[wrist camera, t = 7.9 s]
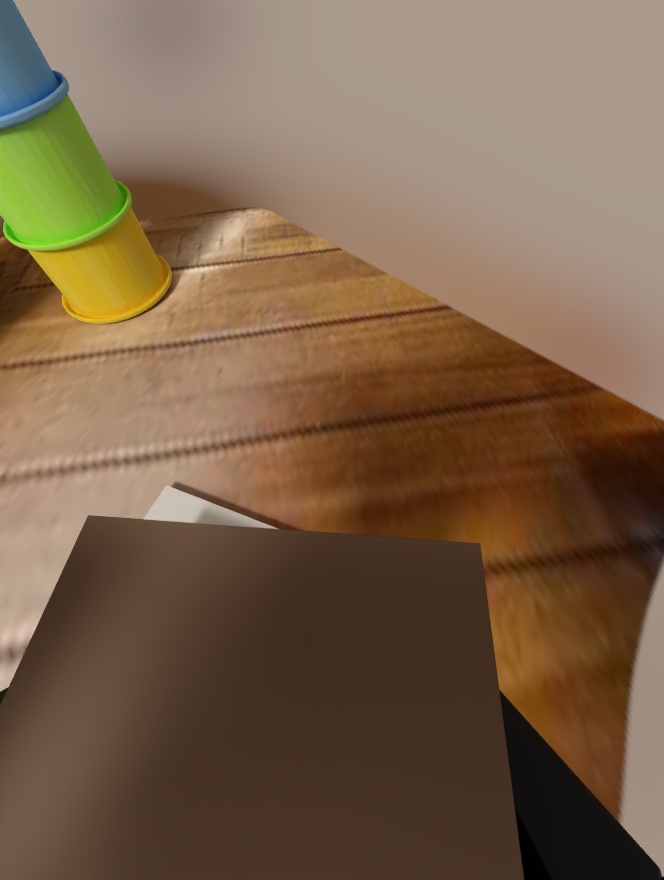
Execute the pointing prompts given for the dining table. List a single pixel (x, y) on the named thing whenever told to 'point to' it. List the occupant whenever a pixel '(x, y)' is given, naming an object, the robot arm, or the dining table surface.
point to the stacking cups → (67, 191)
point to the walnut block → (258, 712)
